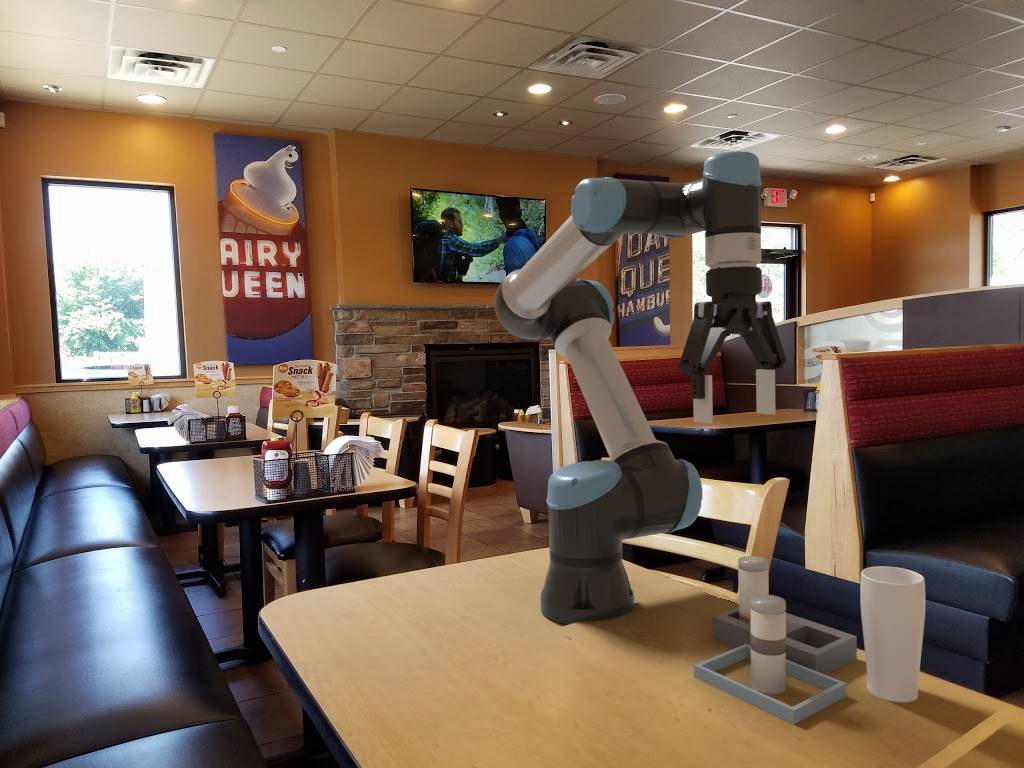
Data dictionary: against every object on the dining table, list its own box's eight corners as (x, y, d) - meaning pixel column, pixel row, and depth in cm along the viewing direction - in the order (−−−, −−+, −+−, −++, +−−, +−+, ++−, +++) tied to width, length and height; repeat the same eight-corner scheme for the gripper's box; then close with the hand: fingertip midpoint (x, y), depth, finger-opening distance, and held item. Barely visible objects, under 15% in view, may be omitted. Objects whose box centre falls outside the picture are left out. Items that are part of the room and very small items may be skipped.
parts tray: (694, 684, 92) (693, 665, 92) (746, 661, 97) (746, 643, 97) (793, 732, 80) (793, 710, 80) (846, 703, 86) (846, 683, 85)
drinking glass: (923, 719, 82) (923, 588, 81) (857, 704, 85) (856, 579, 84) (926, 693, 88) (926, 570, 87) (864, 680, 91) (863, 562, 90)
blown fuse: (743, 687, 89) (742, 599, 88) (764, 677, 91) (764, 592, 91) (771, 700, 86) (771, 609, 85) (793, 690, 88) (793, 601, 87)
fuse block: (713, 644, 103) (712, 616, 103) (753, 628, 108) (753, 601, 108) (815, 686, 90) (815, 655, 90) (856, 666, 95) (856, 636, 95)
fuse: (732, 636, 103) (731, 559, 103) (751, 628, 106) (750, 554, 105) (757, 645, 100) (756, 566, 99) (775, 637, 102) (774, 560, 101)
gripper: (692, 262, 92) (696, 429, 93) (810, 266, 106) (811, 412, 107) (650, 267, 98) (653, 424, 100) (766, 271, 112) (768, 409, 114)
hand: (735, 418), depth 103 cm, fingers open, 13 cm apart
